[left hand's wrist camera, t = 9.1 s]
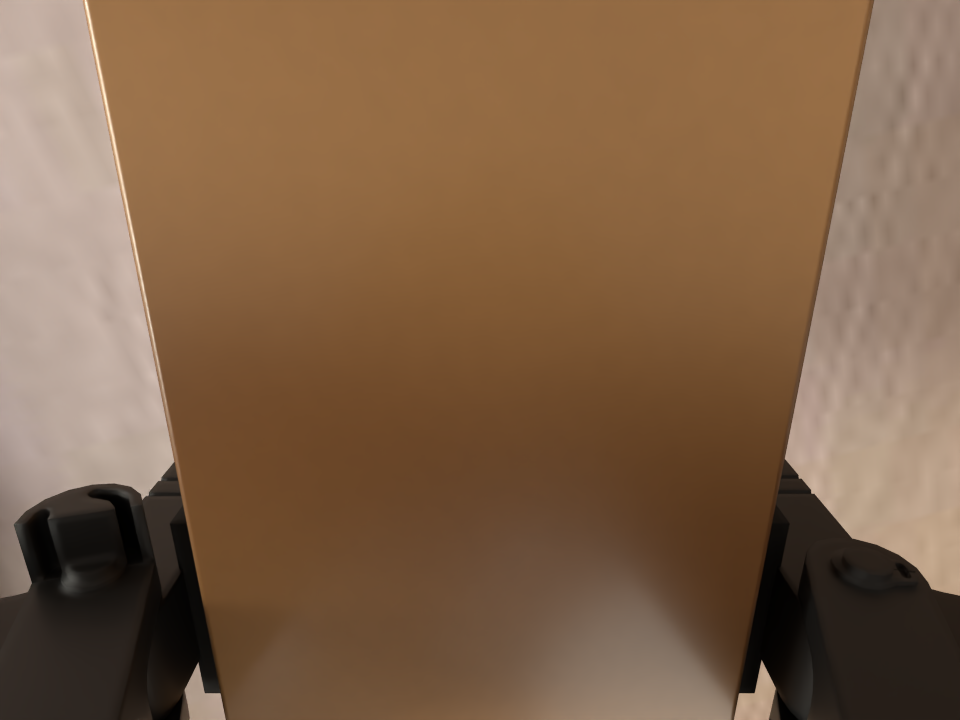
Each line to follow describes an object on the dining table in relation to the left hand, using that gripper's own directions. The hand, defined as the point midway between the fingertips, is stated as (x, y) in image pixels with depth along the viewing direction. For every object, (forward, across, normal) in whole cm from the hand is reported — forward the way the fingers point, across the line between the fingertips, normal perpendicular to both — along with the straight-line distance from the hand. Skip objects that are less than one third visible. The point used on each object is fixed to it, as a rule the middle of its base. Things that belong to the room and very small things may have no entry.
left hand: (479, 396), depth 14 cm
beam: (+1, 0, -25) cm, 25 cm away
